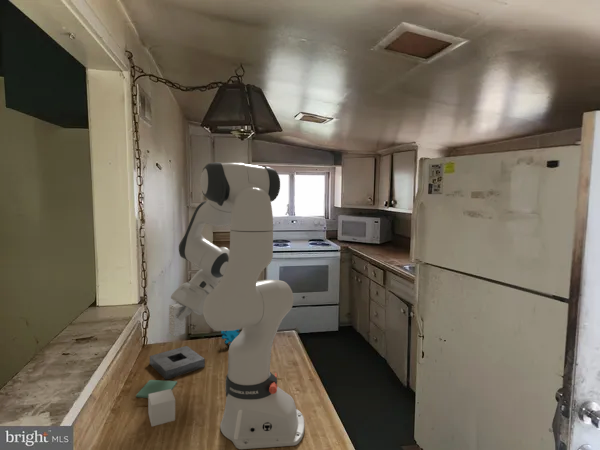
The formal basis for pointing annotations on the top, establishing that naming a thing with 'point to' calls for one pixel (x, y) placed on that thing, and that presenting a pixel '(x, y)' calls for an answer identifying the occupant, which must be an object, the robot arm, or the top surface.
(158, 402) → the plain white cube
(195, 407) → the top surface
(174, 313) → the steel bar
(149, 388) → the rubber mat
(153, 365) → the socket block
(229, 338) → the gear
